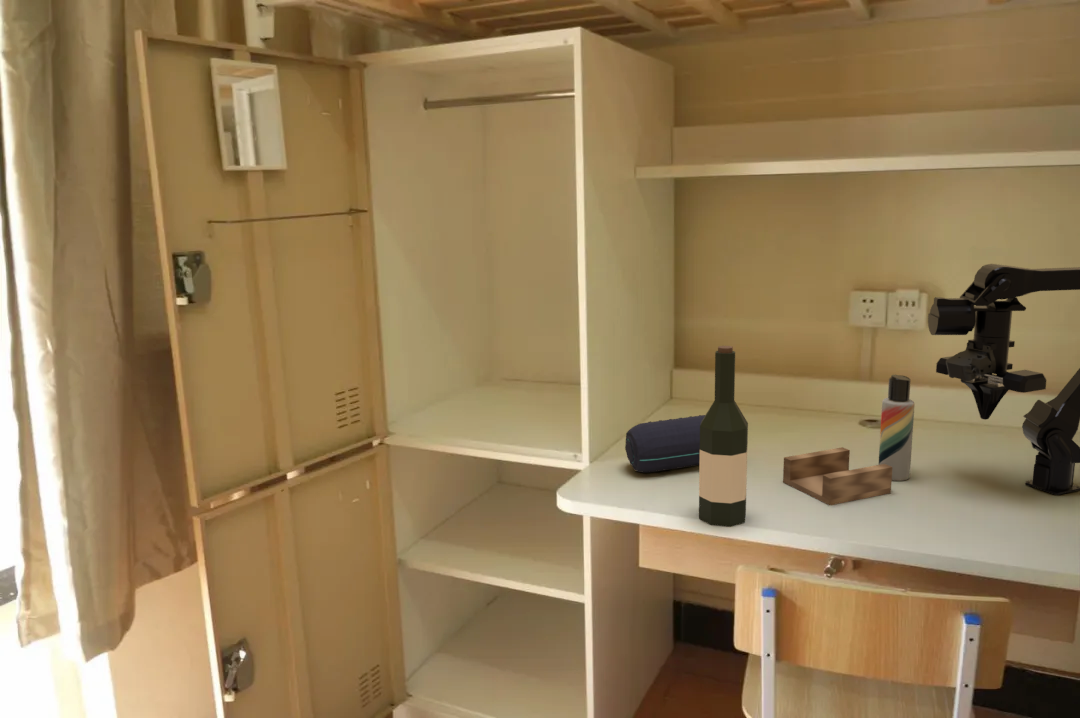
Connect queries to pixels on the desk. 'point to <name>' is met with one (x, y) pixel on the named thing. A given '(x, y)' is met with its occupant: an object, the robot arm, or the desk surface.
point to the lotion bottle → (897, 428)
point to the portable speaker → (664, 444)
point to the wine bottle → (723, 450)
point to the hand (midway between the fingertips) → (984, 418)
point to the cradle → (835, 476)
